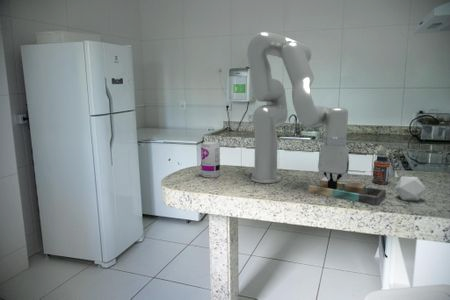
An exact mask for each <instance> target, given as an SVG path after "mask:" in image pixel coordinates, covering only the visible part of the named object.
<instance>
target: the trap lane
mask: <svg viewBox="0 0 450 300" xmlns="http://www.w3.org/2000/svg"><path fill="white" fill-rule="evenodd" d="M322 179H323V178H321V179H319V181H318V182H319V184H318V185H319V186H318V185H317V186H316V185H312V184H310V185H308V193H310V194H311V193H312V194H316V195H321V196H326V197H331V198H335V199H341V200H347V201H352V202H358V203H362V204H367V205H372V206H379V204H380V203H381V202H382V201H383V200H384V199H385V198H386V196H387V195H386V193H387V189H382V188H375V187H370V186H366V190H365V195H363V194H357V193H352V192H346V191H344V187H345V185H346V184H347V183H345V182H339V181H337V189H336V190H335V189H329V188H328V180H322Z"/></svg>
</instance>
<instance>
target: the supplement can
mask: <svg viewBox="0 0 450 300" xmlns="http://www.w3.org/2000/svg"><path fill="white" fill-rule="evenodd" d="M220 147H221V146H220V144H219V142H218V141H203V142H202V144H201V145H200V155H201V156H200V157H201V159H200V161H201V162H200V163H201V169H200V170H201V176H202V177H203V178H207V179H214V178H218V177H219V176H220V175H221V156H220V155H221V154H220V153H221V151H220Z"/></svg>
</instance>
